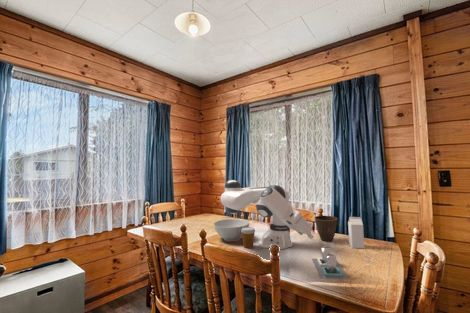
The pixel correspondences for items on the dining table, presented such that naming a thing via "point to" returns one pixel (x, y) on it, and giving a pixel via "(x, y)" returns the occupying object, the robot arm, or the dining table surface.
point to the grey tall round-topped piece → (324, 253)
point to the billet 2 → (331, 264)
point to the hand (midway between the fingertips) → (306, 235)
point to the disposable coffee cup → (248, 237)
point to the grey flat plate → (323, 273)
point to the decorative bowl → (230, 228)
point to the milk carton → (356, 232)
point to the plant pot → (326, 227)
